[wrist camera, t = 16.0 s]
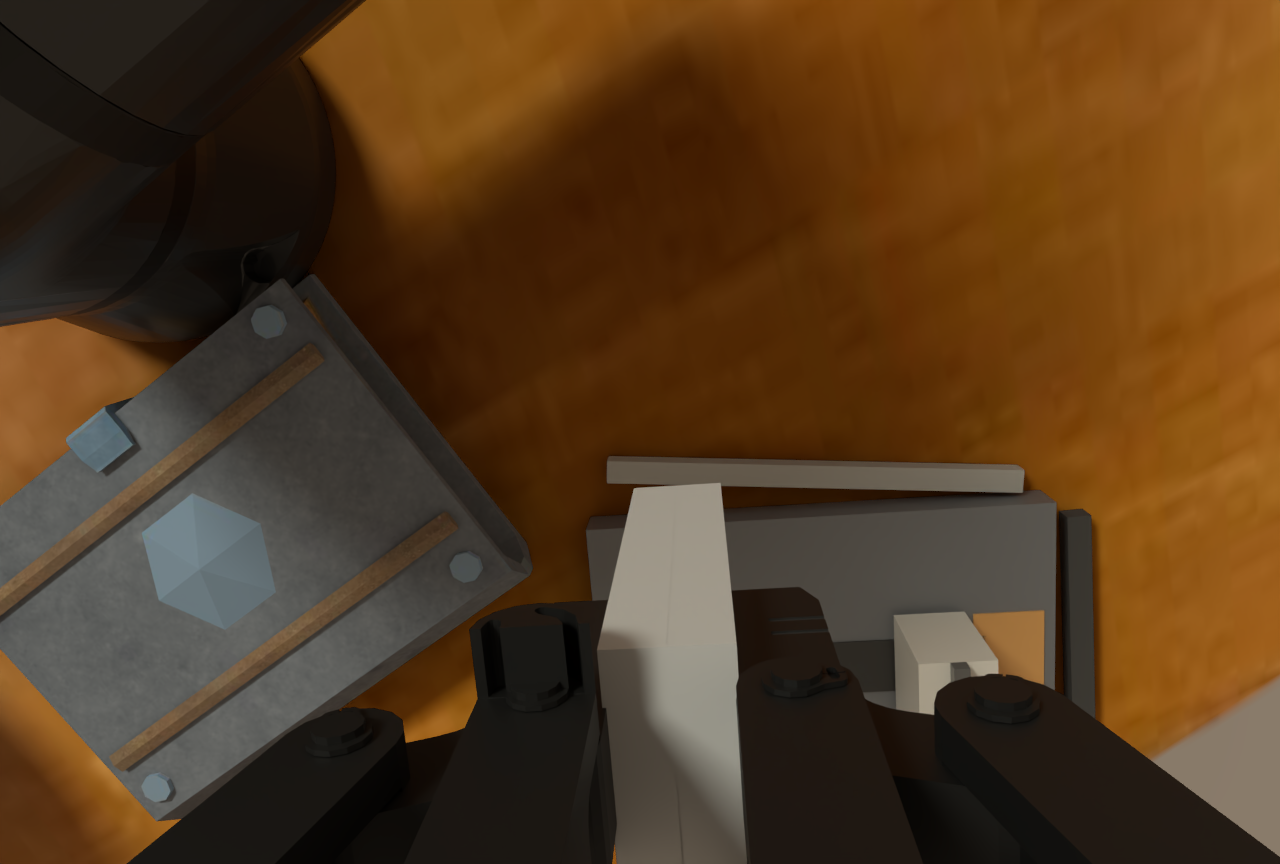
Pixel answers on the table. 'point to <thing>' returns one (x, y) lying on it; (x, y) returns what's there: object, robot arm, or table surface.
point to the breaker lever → (936, 656)
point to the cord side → (1077, 608)
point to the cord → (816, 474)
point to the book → (243, 550)
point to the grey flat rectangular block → (895, 571)
